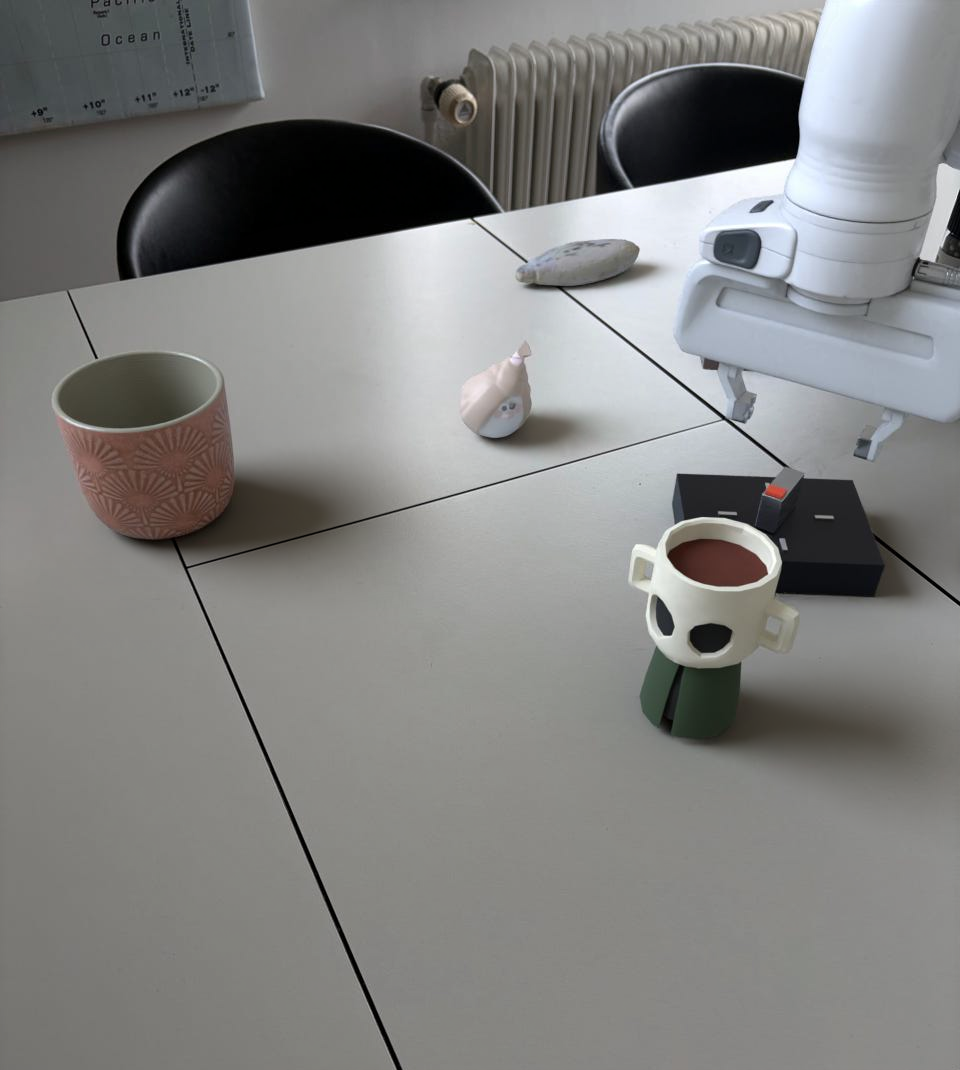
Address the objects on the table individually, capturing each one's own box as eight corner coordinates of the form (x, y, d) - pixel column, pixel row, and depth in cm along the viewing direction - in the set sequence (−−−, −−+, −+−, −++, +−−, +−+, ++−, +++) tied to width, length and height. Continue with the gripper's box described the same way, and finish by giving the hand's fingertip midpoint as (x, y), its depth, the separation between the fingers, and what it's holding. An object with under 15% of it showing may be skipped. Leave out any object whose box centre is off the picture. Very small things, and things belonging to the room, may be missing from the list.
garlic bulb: (532, 450, 91) (536, 366, 86) (459, 449, 91) (458, 366, 86) (528, 411, 96) (532, 330, 91) (459, 411, 96) (459, 330, 91)
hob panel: (843, 510, 85) (853, 478, 83) (874, 597, 77) (886, 563, 75) (671, 504, 85) (677, 471, 83) (684, 589, 77) (690, 555, 75)
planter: (276, 498, 85) (258, 377, 78) (163, 576, 78) (131, 450, 70) (170, 451, 90) (144, 333, 83) (54, 519, 83) (14, 396, 75)
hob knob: (776, 498, 81) (785, 463, 79) (796, 505, 80) (805, 469, 78) (754, 527, 78) (762, 491, 76) (774, 534, 77) (783, 498, 75)
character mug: (587, 704, 68) (605, 546, 60) (642, 646, 73) (666, 491, 64) (737, 782, 64) (781, 623, 55) (786, 715, 68) (834, 557, 59)
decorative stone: (504, 278, 118) (505, 248, 116) (621, 255, 123) (623, 226, 121) (529, 299, 114) (531, 269, 112) (649, 275, 119) (652, 245, 117)
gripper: (1032, 262, 63) (961, 458, 72) (716, 197, 71) (689, 381, 80) (1009, 301, 59) (937, 503, 68) (677, 227, 67) (653, 416, 76)
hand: (800, 436), depth 74 cm, fingers open, 8 cm apart
